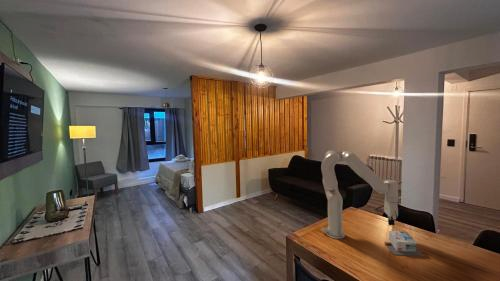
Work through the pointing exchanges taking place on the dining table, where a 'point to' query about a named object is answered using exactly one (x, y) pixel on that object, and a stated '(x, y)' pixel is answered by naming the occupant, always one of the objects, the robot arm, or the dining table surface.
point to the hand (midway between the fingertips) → (391, 224)
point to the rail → (388, 244)
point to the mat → (403, 252)
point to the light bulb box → (402, 241)
